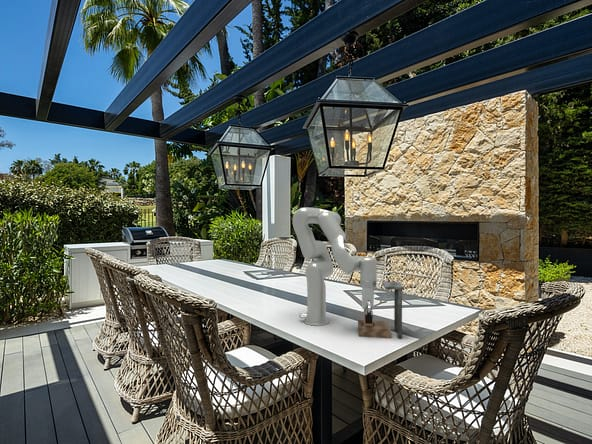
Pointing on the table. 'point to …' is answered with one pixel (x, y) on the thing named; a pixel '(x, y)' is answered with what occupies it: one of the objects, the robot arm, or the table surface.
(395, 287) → the socket block
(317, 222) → the robot arm
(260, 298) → the table surface
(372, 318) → the peg
